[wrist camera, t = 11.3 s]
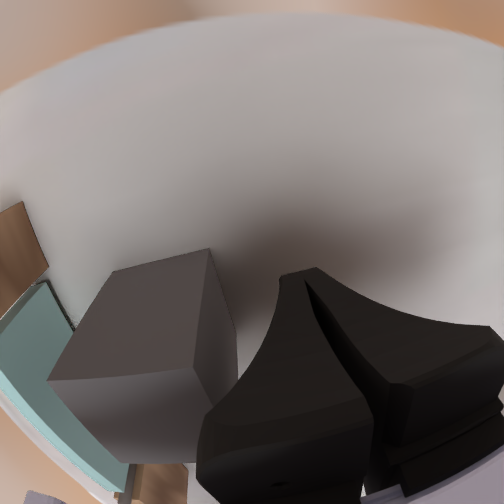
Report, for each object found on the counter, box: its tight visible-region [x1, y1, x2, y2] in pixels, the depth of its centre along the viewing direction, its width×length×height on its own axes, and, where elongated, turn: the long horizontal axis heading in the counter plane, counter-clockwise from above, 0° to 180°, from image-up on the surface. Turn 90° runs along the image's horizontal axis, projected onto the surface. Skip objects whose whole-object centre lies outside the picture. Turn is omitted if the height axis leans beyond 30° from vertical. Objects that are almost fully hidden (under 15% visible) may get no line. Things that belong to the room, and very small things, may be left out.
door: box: [0, 282, 129, 493], centre depth 11 cm, size 10×2×5 cm, turn 13°
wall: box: [0, 202, 188, 504], centre depth 11 cm, size 20×2×5 cm, turn 13°
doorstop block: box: [46, 248, 238, 464], centre depth 9 cm, size 4×4×6 cm
